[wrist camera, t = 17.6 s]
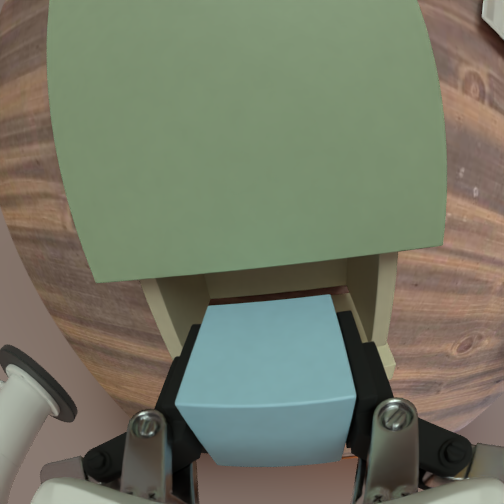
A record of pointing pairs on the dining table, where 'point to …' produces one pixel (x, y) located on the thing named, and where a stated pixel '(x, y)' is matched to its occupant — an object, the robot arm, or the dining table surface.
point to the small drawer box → (245, 132)
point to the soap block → (269, 384)
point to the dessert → (494, 15)
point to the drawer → (278, 281)
